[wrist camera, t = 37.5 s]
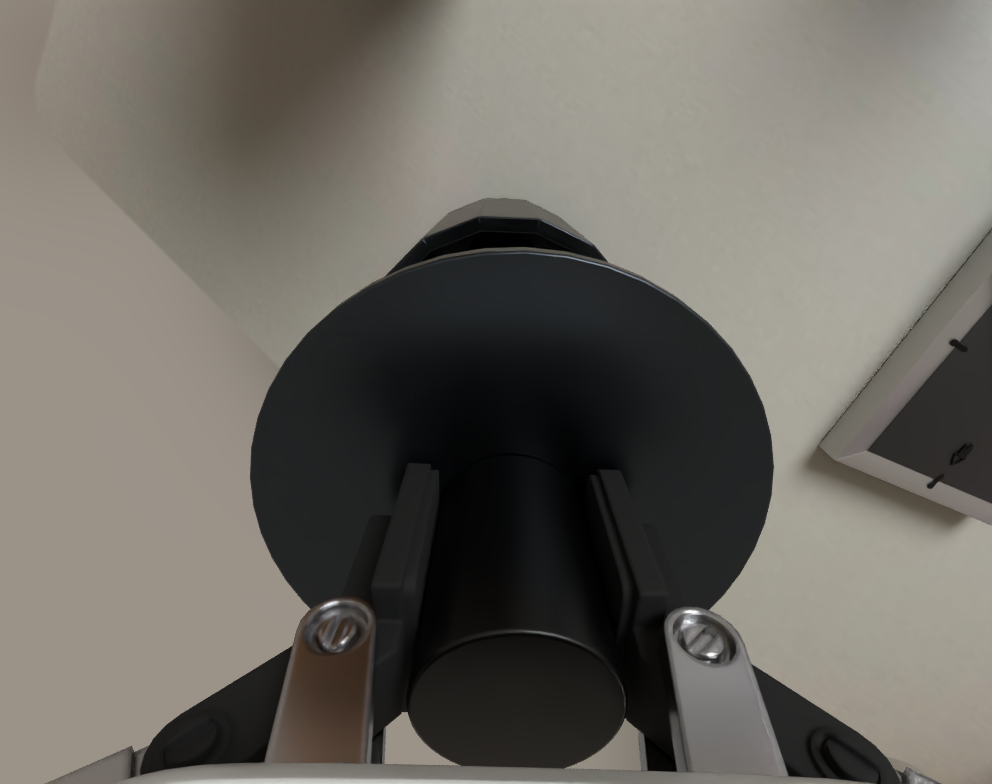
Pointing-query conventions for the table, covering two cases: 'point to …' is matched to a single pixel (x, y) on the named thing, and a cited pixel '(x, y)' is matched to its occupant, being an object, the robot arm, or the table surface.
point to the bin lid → (513, 476)
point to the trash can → (498, 231)
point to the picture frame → (932, 402)
